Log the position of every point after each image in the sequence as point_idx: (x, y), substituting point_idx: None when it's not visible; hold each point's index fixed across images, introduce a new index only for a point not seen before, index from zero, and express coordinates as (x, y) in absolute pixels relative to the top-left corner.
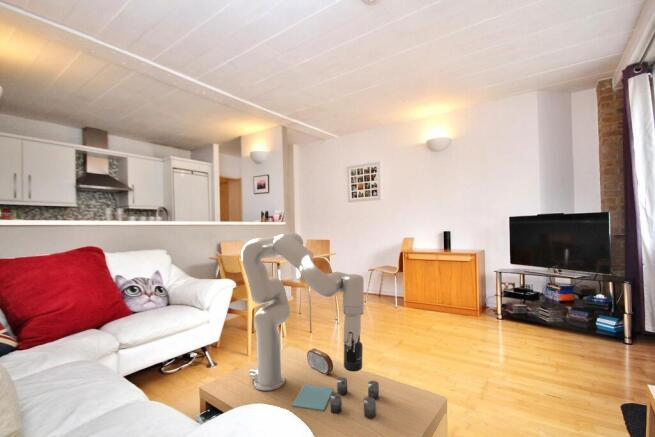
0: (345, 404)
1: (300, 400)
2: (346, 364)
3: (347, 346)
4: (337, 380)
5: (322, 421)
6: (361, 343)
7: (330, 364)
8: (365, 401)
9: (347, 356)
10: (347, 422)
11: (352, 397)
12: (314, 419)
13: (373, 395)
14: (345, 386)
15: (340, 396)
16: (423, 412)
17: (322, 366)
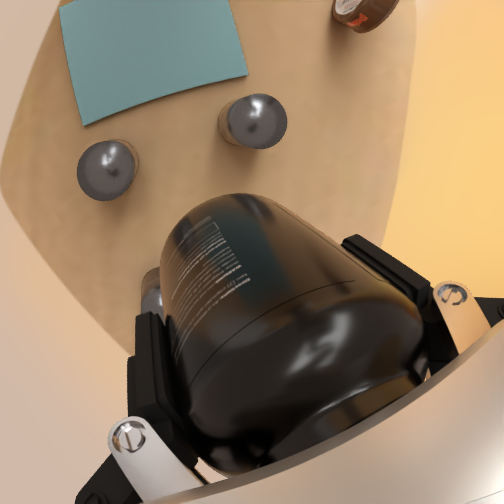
0: (169, 175)
1: (97, 10)
2: (163, 271)
3: (132, 485)
4: (245, 100)
5: (35, 162)
6: None
7: (363, 20)
8: (149, 306)
9: (138, 361)
10: (81, 242)
11: (230, 176)
12: (29, 130)
13: None
14: (241, 145)
15: (114, 194)
16: None
17: None
